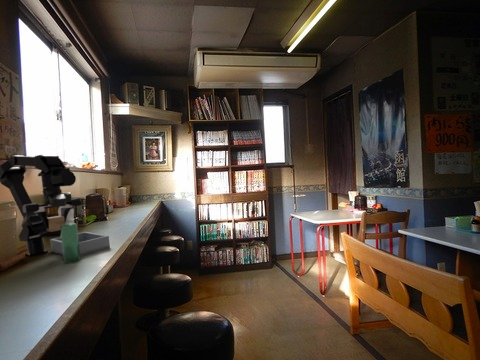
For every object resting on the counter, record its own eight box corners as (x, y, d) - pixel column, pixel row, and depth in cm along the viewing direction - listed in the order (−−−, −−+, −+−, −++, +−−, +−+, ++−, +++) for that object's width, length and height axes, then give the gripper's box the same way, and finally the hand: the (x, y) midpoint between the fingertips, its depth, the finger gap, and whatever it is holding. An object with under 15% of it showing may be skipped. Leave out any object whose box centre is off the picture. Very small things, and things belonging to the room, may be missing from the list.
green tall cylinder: (61, 262, 102) (58, 225, 102) (77, 258, 106) (73, 222, 106) (67, 264, 99) (63, 226, 99) (82, 260, 103) (79, 223, 102)
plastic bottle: (70, 243, 134) (65, 199, 133) (57, 243, 135) (52, 200, 134) (80, 239, 140) (76, 198, 139) (68, 239, 141) (64, 199, 141)
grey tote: (51, 251, 120) (50, 239, 120) (86, 242, 131) (85, 231, 131) (72, 258, 106) (71, 244, 106) (110, 248, 117) (108, 235, 117)
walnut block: (46, 230, 113) (45, 217, 113) (61, 228, 117) (59, 215, 116) (50, 231, 110) (49, 218, 109) (65, 229, 113) (64, 216, 113)
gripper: (27, 189, 100) (32, 234, 101) (85, 184, 114) (89, 223, 115) (20, 190, 108) (24, 231, 108) (74, 185, 121) (78, 222, 122)
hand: (55, 227), depth 113 cm, fingers closed on walnut block, 5 cm apart
